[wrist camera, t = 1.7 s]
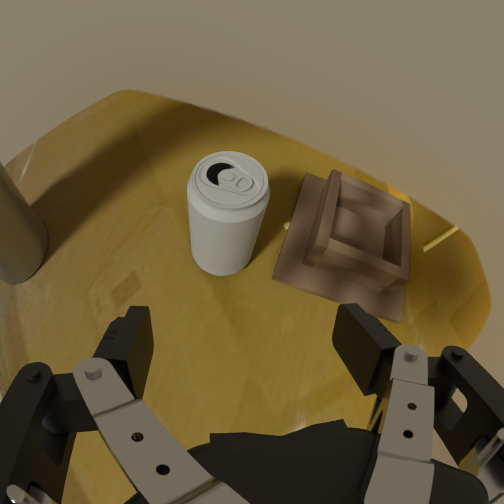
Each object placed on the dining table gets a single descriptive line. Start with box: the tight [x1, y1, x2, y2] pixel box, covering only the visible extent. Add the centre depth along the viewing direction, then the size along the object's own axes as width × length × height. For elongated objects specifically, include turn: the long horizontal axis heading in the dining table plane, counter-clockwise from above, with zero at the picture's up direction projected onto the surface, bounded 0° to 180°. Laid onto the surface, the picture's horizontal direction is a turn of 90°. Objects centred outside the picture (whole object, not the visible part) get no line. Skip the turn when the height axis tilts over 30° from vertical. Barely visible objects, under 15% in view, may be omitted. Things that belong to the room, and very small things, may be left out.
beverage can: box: [187, 151, 270, 276], centre depth 26 cm, size 6×6×12 cm
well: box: [272, 169, 411, 323], centre depth 31 cm, size 16×16×5 cm
